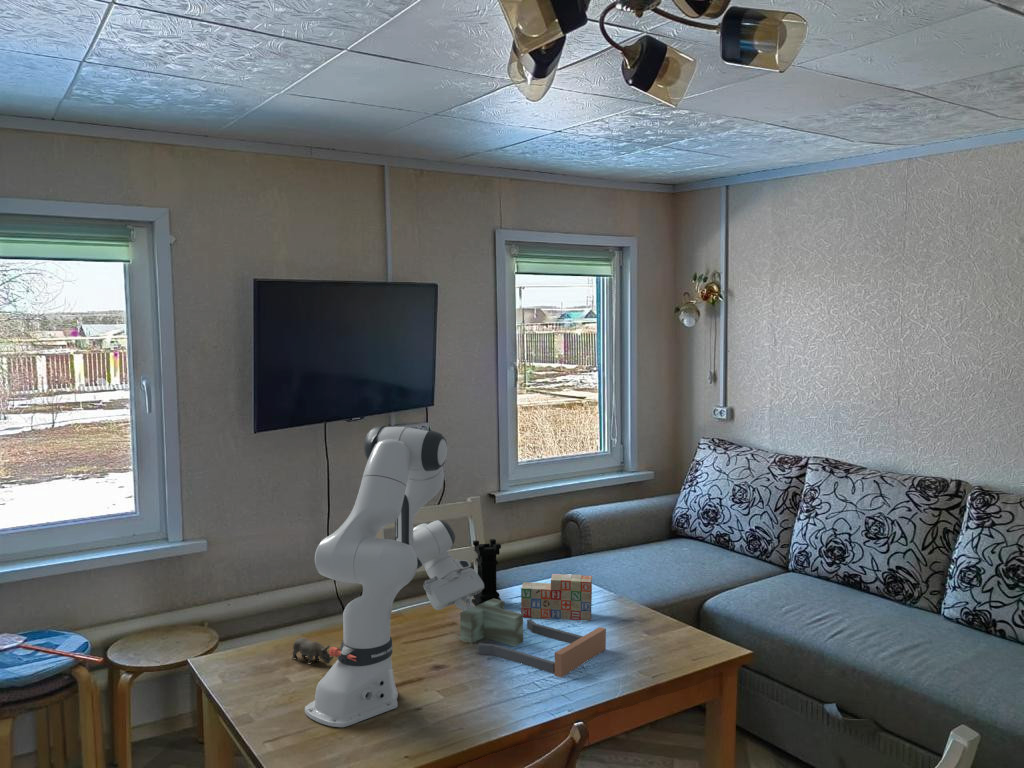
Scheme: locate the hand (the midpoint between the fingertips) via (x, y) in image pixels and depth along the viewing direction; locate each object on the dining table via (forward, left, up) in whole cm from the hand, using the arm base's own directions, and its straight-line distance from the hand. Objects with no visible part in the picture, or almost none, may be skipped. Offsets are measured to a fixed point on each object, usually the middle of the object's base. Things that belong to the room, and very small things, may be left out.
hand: (470, 612), depth 241 cm
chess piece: (+20, +10, -6) cm, 23 cm away
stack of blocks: (+25, -13, -6) cm, 29 cm away
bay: (0, -26, -5) cm, 27 cm away
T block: (0, -10, -5) cm, 11 cm away
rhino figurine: (-42, +19, -6) cm, 47 cm away
